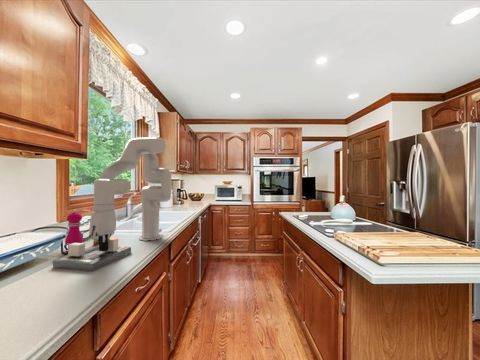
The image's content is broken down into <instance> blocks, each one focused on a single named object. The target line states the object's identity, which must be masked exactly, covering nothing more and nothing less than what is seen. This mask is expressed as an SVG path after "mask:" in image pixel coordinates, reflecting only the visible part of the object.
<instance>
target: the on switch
mask: <svg viewBox="0 0 480 360" xmlns="http://www.w3.org/2000/svg"><path fill="white" fill-rule="evenodd" d="M85 249H86V243H85V242H84V243H83V242H82V243H72V244H69V245H68V252H67V255H68V256H81V255H84V254H85Z"/></svg>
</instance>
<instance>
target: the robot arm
mask: <svg viewBox="0 0 480 360" xmlns="http://www.w3.org/2000/svg"><path fill="white" fill-rule="evenodd" d="M166 147H167V144H166V141H165V140H164V138H162V137H135V138H134V137H133V138H131V139H129V140H128V142H126V144H125V146H124V149H123V150H122V153H121V155H120V157H119V158H118V159H117V160H115V161H114V162H113V163H111V164H110V165H109V166H108V167H106V168H105V169H104V170H103V171H102V172H101V174H100V176H99V177H98V179H95V180H94V181H93V183H94V184H93V211H92V212H91V216H90V220H89V233H88V234H89V236H91V239H92V240H98V242H99V251H104V252H105V251H108V241H109V240H110V238H112V237H111V236H113V235H115V232H116V229H117V217H116V212H115V196H126V195H127V194H129V192H130V191H131V188H132V185H131V183H130V181H128V180H127V179H124V178H116V177H119V176H120V175H122V174H124V173H128V172H129V171H132V170H134V169H135V168H136V167H137V165H138V163H139V161H140V159H141V157H142V159H143V180H144V182H145V184H150V185H147V186H144V187H142V188H141V190H140V200H141V211H142V212H141V213H142V214H141V235H139V237H138V239H139V240H140V241H142V242H143V241H145V242H148V240H151V241H156V239H157V240H160V239H162V234H160V233H161V232H162V231H163V230H162V228H160V207H159V205H158V203H166V202H169V201H170V200H171V198H172V174H171V171H170V170H169V168H167V167H160V159H159V158H158V156H157V154H160V153H161V154H162V153H164V151H165V150H166ZM151 184H153V185H151ZM155 184H156V185H155ZM157 184H158V185H157ZM159 184H160V185H159Z"/></svg>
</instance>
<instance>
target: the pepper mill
mask: <svg viewBox="0 0 480 360" xmlns="http://www.w3.org/2000/svg"><path fill="white" fill-rule="evenodd" d="M82 219H83V216H82V214H81V213H80V212H78V211H77V209H72V212H71V213H69V214H68V215H67V216H66V221H67V222H68V223H67V226H68V228H69V229H68V232H67V235H66V237H65V240H64V244H65V245H66V244H67V243H70V244H72V243H83V242H84V238H83V235H82V233H81V231H80V230H81V229H80V225H81V221H82Z"/></svg>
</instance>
